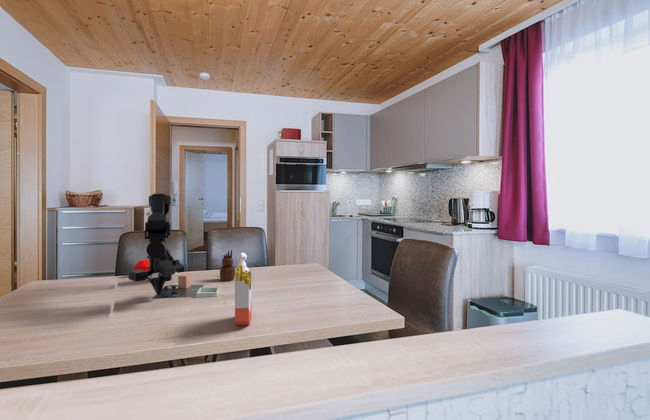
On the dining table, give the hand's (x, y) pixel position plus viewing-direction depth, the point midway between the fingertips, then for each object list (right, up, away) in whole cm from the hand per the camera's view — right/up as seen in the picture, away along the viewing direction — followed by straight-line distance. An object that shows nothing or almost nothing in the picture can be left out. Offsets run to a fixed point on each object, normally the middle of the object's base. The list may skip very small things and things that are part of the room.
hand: (158, 294), depth 127 cm
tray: (+16, -3, +8) cm, 18 cm away
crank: (+1, -1, +11) cm, 11 cm away
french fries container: (+36, -5, -17) cm, 40 cm away
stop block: (+2, -1, +18) cm, 18 cm away
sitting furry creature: (+21, -1, +39) cm, 44 cm away
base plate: (+3, -3, +12) cm, 12 cm away
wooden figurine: (+17, -2, +29) cm, 34 cm away
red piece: (-25, -1, +39) cm, 46 cm away
